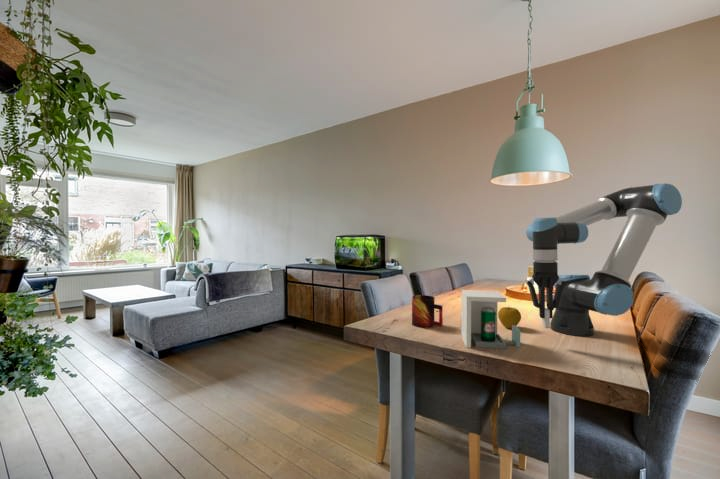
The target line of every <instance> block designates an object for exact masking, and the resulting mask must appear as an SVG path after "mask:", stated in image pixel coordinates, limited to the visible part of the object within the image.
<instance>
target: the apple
mask: <svg viewBox="0 0 720 479" xmlns="http://www.w3.org/2000/svg"><path fill="white" fill-rule="evenodd" d="M497 318H498V320H499V321H500V323H501V325H502V326H504V328H505V329H509V330H510V329H511V330H512V325H515V326H516V327H517V326H518V325H519V323H520V322H521V319H522V315H521V312H520V311H519V309H518V308H517V307H510V306H508V307H507V306H504V307H501V308H500V309H498V311H497Z"/></svg>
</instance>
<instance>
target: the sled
mask: <svg viewBox="0 0 720 479" xmlns="http://www.w3.org/2000/svg"><path fill="white" fill-rule="evenodd" d="M471 340H472V341H473V343H474V345H475V347H476V348H488V347H489V348H490V349H491V348H493V349H505V348H506V349H507V345H508V346H515V347H517V348H521V329H519V327H517V326H515V325H512V329H511V340H504V339H503V337H502V336H501V335H500V334H499V333H497V334H496V338H495V341H494V342H484V341H482V340H481V333H472V337H471Z"/></svg>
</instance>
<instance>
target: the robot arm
mask: <svg viewBox="0 0 720 479" xmlns="http://www.w3.org/2000/svg"><path fill="white" fill-rule="evenodd" d="M682 204H683V199H682V195H681V192H680V190H679V189H678V188H677V187H676V186H675V185H673V184H671V183H656V184H652V185H642V186H634V187H632V186H631V187H627V188H626V187H625V188H623V189H620V190H617V191H615V192H612V193H609V194H607V195H604V196H601V197H600V198H598V199H596V200H595V201H594V202H593V203H591V204H589V205H585V206H583V207H580V208H577V209H575V210H572V211H570V212H566V213H564V214H562V215H559V216H556V217H536V218H534V219H533V220H532V224H529V225H528V226H527V228H526V230H525V234H526V236H527V237H526V238H527V239H528V241H531V242H532V255H533V256H532V259H533V262H532V264H533V269H532V271H533V274H532V276H531V278H530V279H526V280H525V284H526V285H527V287H528V290H529V293H530V297H531V300H532V304H533V306H534V307H536V308H537V309H539V313H538V314H539V315H538V316H539V317H540V318H541V320H542V324H541V325H542V328H543V327H544V329H550V330H552V331H555V332H556V333H557V332H558V333H560V334H565V335H570V336H577V337H587V336H588V337H589V336H594V334H595V327H594V324H593V321H592V319H591V318H592V317H591V316H590V311H592V312H595V313H598V314H601V315H606V316H607V315H608V316H612V317H613V316H614V317H615V316H621V315H623V314H626V313H627V312H629V310H630V309H631V307H632V306H633V304H634V299H635V298H634V295H635V294H634V291H633V290H632V289H631V288H632V284H631V282H630V278H631V276H632V274H633V273H634V271H635V268H636V266H637V265H638V262H639V260H640V258H641V256H642V255H643V253H644V251H645V249H646V247H647V246H648V243H649V240H650V238H651V237H652V235H653V233H654V231H655V229H656V228H657V226H660V225H662V224H664V222H665V221H666V219H667V217H668V216H674V215H675V214H677V213H679V212H680V210H681V209H682ZM623 217H627V218H628V219H627V220H626V223H625V225H624V226H623V228H622V230H621V232H620V234H619V235H618V237H617V239H616V241H615V243H614V245H613V248H612V249H611V251H610V253H609V255H608V257H607V259H606V261H605V263H604V265H603V266H602V268H601V270H597V271H595V272H594V274H593V276H592V277H590V275H589V274H561V275H559V274H558V271H559V270H558V268H559V267H558V262H557V261H558V260H559V259H558V245H560V244H561V245H562V244H574V245H575V244H577V243H579V244H580V243H583V242H586V240H587V239H588V237H589V233H590V232H589V228H588V227H587V226H590V225H592V224H594V223H597V222H600V221H602V220H607V221H608V220H609V221H610V220H612V219H615V218H623ZM535 284H536V285H537V289H538V295H537V292H536V288H535V286H534V285H535ZM554 286H555V288H554ZM554 289H555V290H554ZM553 291H554V292H553ZM554 309H555V310H554ZM553 312H554V313H553Z"/></svg>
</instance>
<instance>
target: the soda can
mask: <svg viewBox="0 0 720 479" xmlns="http://www.w3.org/2000/svg"><path fill="white" fill-rule="evenodd" d="M494 309H495V308H492V307H482V310H481V340H482V341H484V342H494V341H495V338H496V311H495V310H494Z"/></svg>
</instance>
